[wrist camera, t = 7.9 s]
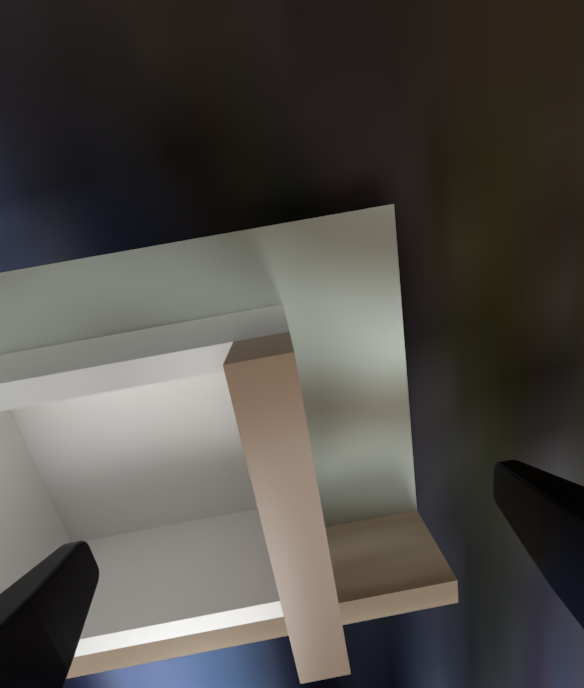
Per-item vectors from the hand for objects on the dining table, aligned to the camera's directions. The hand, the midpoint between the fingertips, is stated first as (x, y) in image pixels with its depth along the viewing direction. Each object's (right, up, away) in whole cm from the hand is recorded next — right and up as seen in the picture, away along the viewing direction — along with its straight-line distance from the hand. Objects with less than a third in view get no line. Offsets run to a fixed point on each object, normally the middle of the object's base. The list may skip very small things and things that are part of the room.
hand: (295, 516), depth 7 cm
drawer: (-5, 0, +5) cm, 7 cm away
